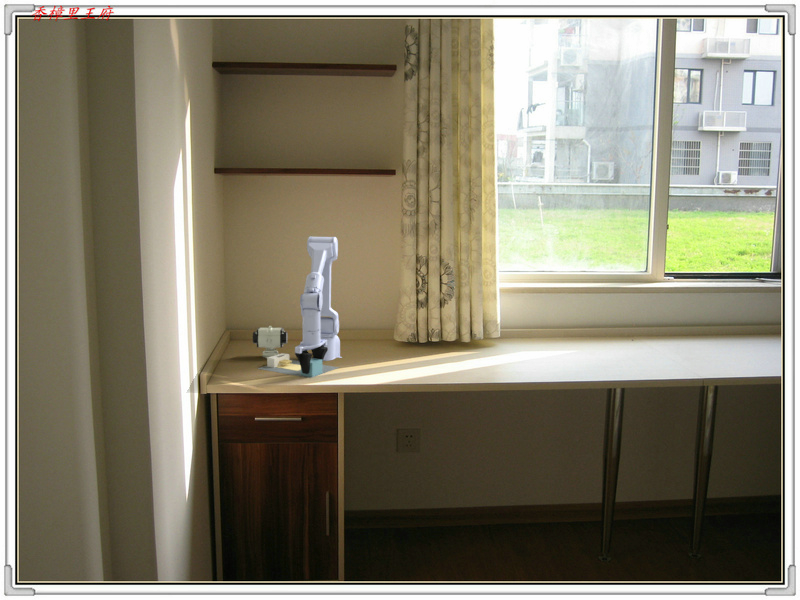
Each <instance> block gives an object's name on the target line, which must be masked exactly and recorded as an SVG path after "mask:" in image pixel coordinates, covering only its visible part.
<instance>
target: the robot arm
mask: <svg viewBox="0 0 800 600" xmlns="http://www.w3.org/2000/svg"><path fill="white" fill-rule="evenodd" d="M306 250H307V253H308V255H309V256H308V257H310V259H311V266H310V272H309V274H307V275H306V279H305V284H304V289H303V293H301V295H300V298H299V305H300V316H301V317H302V323H301V324H302V341H300V344H299V345H297V346H295V347H294V355H295V356H296V358H297V361H299V362H300V365H301V369H302V373H305V374H309V369H310V360H311V358H316V359H322V363H324V362H327V361H333V360H335V359H337V358H339V359H340V358H343V357H342V356H341V340H340V337H339V336H338V334H339V331H340V320H339V313H338V312H337V311H336V310H334V309H333V308H332V305H331V303H332V266H333V262H335V261H337V260H338V254H339V241H338V238H337V237H336V236H312V235H311V236H309V237H307V241H306ZM308 351H310V352H308Z"/></svg>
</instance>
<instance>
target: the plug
mask: <svg viewBox="0 0 800 600" xmlns="http://www.w3.org/2000/svg"><path fill="white" fill-rule="evenodd" d="M322 365H323V362H322V359H316V358H313V357H311V360H310V369H309V374H305V373H302V369H301V375H303V376H309V377H312V378H315V377H317V375H318V376H321V375H323V374H322ZM320 374H321V375H320ZM314 376H315V377H314Z"/></svg>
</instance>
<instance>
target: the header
mask: <svg viewBox="0 0 800 600" xmlns="http://www.w3.org/2000/svg"><path fill="white" fill-rule="evenodd" d="M289 359H290V354H289V353H285V352H283V353H282V352H281V353H278V355H275V356H271V357H268V358H266V360H267V361H266V363H267V365H266V366H268V367H273V368H275V367H277V366H280V365H283V364H289V363H291V362H292V361H291V360H292V359H291V360H289Z"/></svg>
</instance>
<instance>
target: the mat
mask: <svg viewBox="0 0 800 600" xmlns="http://www.w3.org/2000/svg"><path fill="white" fill-rule="evenodd" d="M289 360H291V361H292V362H291V363H289V364H283V365H280V366H277V367H275V368H273V367H268V366H267V365H264V366H261V367H257V370H263V371H268V372H274V373H278V374H284V375H290V376H296V377H300V378H301V377H302V378H306V379H312V378H315V377H317V376H321V375H323V374H326V373H329V372H331V371H334V370H336V369H337V370H338V369H340V367H338V366H334V365H333V366H331V365H328V364H327V365H325V364H322V374H320V375H317V376H314V377H309V376H303V375H301V365H300V362H299V360H298V359H297V360H296V359H291V358H289Z"/></svg>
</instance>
